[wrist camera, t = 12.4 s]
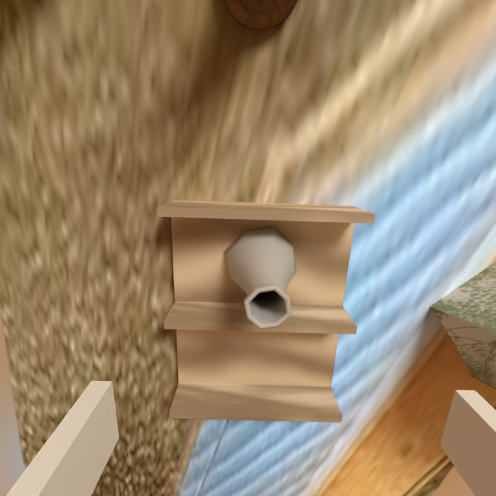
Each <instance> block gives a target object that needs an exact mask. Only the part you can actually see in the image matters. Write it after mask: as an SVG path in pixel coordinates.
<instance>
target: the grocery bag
mask: <svg viewBox="0 0 496 496" xmlns="http://www.w3.org/2000/svg"><path fill="white" fill-rule="evenodd" d="M430 307H432V309H433V310H434V312H435V314H436V315H437V317H438V319H439V320H440V322H441V324H442V325H443V327H444V329H445V330H446V332H447V333H448V335H449V337H450V338H451V340H452V342H453V343H454V345H455V347H456V348H457V350H458V352H459V353H460V355H461V357H462V358H463V360H464V362H465V363H466V365H467V366H468V368H469V370H470V371H471V373H472V375H473V377H474V378H476V379H478V380H480V381H482V382H484V383H486V384H488V385H489V386H491V387H493V388H495V389H496V262H495V263H494V264H492V265H491V266H489V267H488V268H486V269H485V270H483V271H482V272H480V273H479V274H477V275H476V276H474V277H473V278H471V279H470V280H469V281H467V282H466V283H464V284H463V285H461V286H460V287H458V288H457V289H455V290H454V291H452V292H451V293H449V294H448V295H446V296H445V297H443V298H442V299H440V300H439V301H437V302H436V303H435V304H433V305H432V306H430Z"/></svg>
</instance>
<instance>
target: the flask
mask: <svg viewBox="0 0 496 496" xmlns="http://www.w3.org/2000/svg"><path fill="white" fill-rule="evenodd" d="M225 255H226V260H227V265H228V270H229V275H230V278H231V279H232V280H233V281H234V282H235V283H237V284H238V285H239V286H240V287H241V288H242V289H243V290H244V291H245V293H246V294H247V297H246V298H245V299H244V305H245V310H246V315H247V319H248V320H250V321H251V322H252V323H253V324H254V325H256V326H257V327H258V328H259V329H260V330H261V329H268V328H274V327H279V326H280V325H281V324H282V323H283V322H285V321H286V320H287V319H288V318H289V317H290V316H291V315H292V312H291V305H290V298H289V296H288V295H287V294H286V293H285V290H286V288H287V286H288V285H289V283H290V281H291V280H292V278H293V277H294V276H295V274H296V272H297V270H296V262H295V254H294V246H293V245H292V244H291V243H290V242H289V241H288V240H287V239H286V238H285V237H284V236H283V235H282V234H281V233H280V232H279V231H278V230H277V229H276V228H275V227H274V226H270V227H264V228H258V229H252V230H246V231H244V232H243V233H242V234H241V235H240V236H239V237H238V238H237V239H236V240H235V241H234V242H233V243H232V244H231V245H230V246H229V247H228V248H227V249H226V250H225Z"/></svg>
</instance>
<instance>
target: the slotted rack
mask: <svg viewBox="0 0 496 496" xmlns="http://www.w3.org/2000/svg"><path fill="white" fill-rule="evenodd" d="M157 215H158V217H171V227H172V249H173V271H174V292H175V302H174V304H173V306H172V308H171V309H170V311H169V313H168V315H167V317H166V318H165V320H164V329H176V336H177V358H178V380H179V383H178V387H177V390H176V393H175V396H174V399H173V402H172V405H171V408H170V411H169V416H170V418H184V419H226V420H267V421H309V422H341V421H342V414H341V412H340V409H339V406H338V404H337V401H336V399H335V396H334V393H333V391H332V388H331V383H332V376H333V369H334V362H335V355H336V348H337V341H338V334H356V329H357V326H356V325H355V323H354V322H353V320H352V319H351V318H350V316H349V315H348V313H347V312H346V310H345V309H344V308H343V299H344V292H345V285H346V278H347V271H348V264H349V257H350V250H351V243H352V236H353V229H354V223H374V219H375V214H374V213H371V212H368V211H365V210H362V209H359V208H357V207H354V206H339V205H308V204H278V203H247V202H216V201H186V200H173V201H170V202H168V203H165V204H163V205H160V206H158V207H157ZM270 226H274V227H275V228H276V229H277V230H278V231H279V232H280V233H281V234H282V235H283V236H284V237H285V238H286V239H287V240H288V241H289V242H290V243H291V244H292V245H293V246H294V254H295V262H296V270H297V272H296V274H295V276H294V277H293V278H292V280H291V281H290V283H289V285H288V286H287V288H286V290H285V293H286V294H287V295H288V296H289V298H290V305H291V312H292V315H291V316H290V317H289V318H288V319H287V320H286V321H285V322H283V323H282V324H281V325H280V326H279V327H274V328H268V329H261V330H260V329H259V328H258V327H257V326H256V325H254V324H253V323H252V322H251V321H250V320H248V319H247V315H246V310H245V305H244V299H245V298H246V297H247V294H246V293H245V291H244V290H243V289H242V288H241V287H240V286H239V285H238V284H237V283H235V282H234V281H233V280H232V279H231V278H230V275H229V270H228V265H227V260H226V255H225V250H226V249H227V248H228V247H229V246H230V245H231V244H232V243H233V242H234V241H235V240H236V239H237V238H238V237H239V236H240V235H241V234H242V233H243V232H244V231H246V230H252V229H258V228H264V227H270Z"/></svg>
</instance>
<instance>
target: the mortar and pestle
mask: <svg viewBox="0 0 496 496" xmlns="http://www.w3.org/2000/svg"><path fill="white" fill-rule="evenodd" d="M225 2H226V4H227V7H228V9H229V10H230V12H231V13H232V15H233V16H234V17H235V18H236V19H237V20H238V21H239V22H240V23H242V24H243V25H245V26H247V27H249V28H253V29H267V28H270V27H273V26H275V25H277V24H278V23H280V22H281V21H283V20H284V19H285V18H286V17H287V16H288V15H289V13H290V12H291V11H292V9H293V8H294V6H295V4H296V2H297V0H225Z"/></svg>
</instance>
